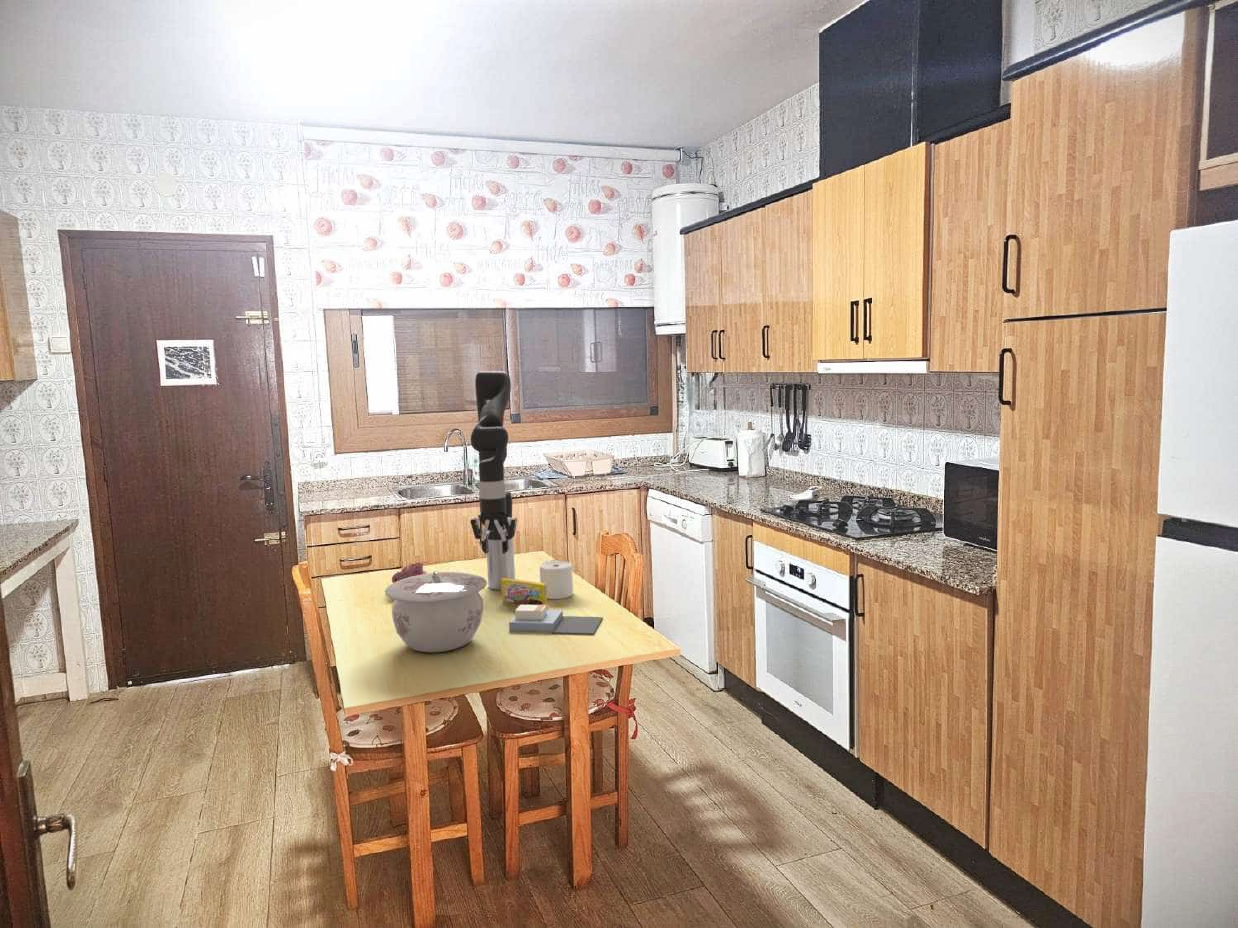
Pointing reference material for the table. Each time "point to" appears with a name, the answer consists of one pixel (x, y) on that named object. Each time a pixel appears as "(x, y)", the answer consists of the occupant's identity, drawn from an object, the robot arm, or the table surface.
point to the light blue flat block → (537, 622)
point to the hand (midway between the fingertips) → (495, 552)
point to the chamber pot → (437, 610)
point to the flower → (409, 572)
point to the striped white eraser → (531, 612)
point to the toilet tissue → (557, 579)
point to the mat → (577, 625)
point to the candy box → (523, 592)
